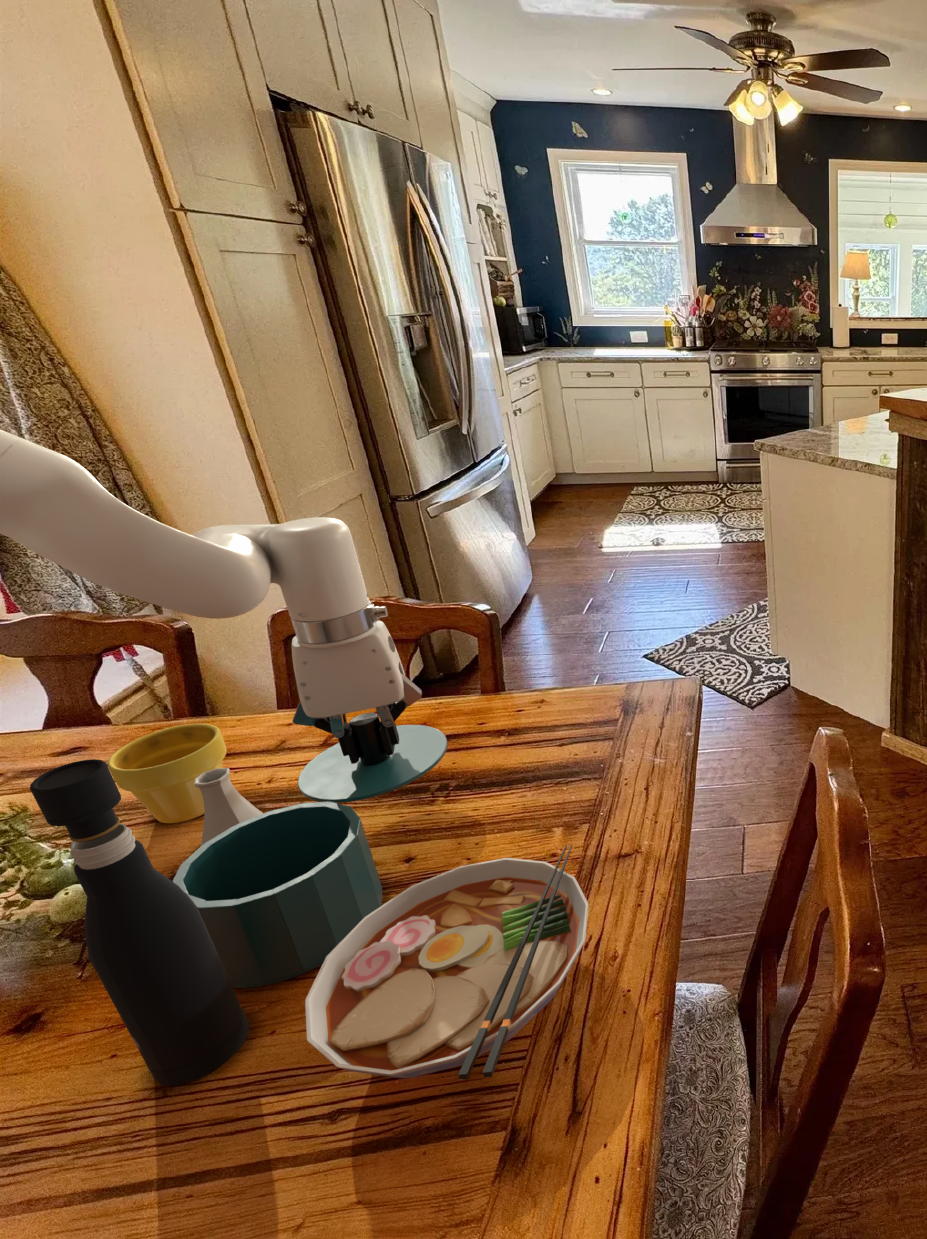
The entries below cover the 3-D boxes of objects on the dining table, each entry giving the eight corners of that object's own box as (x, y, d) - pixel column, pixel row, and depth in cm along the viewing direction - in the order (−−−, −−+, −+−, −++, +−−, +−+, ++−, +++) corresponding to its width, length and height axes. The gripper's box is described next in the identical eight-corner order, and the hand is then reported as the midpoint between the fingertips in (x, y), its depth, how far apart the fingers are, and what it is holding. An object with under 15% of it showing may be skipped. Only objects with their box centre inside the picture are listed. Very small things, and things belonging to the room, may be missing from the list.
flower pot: (223, 823, 89) (197, 759, 86) (118, 843, 86) (86, 777, 82) (255, 775, 98) (233, 716, 95) (161, 792, 95) (134, 731, 91)
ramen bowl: (415, 907, 78) (398, 849, 75) (625, 895, 80) (617, 838, 77) (250, 1162, 54) (215, 1094, 51) (552, 1135, 57) (536, 1068, 54)
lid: (288, 823, 79) (269, 772, 77) (312, 750, 92) (296, 704, 90) (447, 782, 87) (435, 734, 84) (449, 720, 99) (438, 676, 97)
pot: (187, 1013, 66) (147, 930, 62) (229, 903, 78) (198, 828, 74) (375, 950, 72) (349, 872, 69) (387, 858, 84) (366, 787, 81)
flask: (215, 829, 88) (188, 764, 85) (285, 817, 91) (261, 752, 87) (186, 870, 82) (156, 801, 78) (262, 855, 84) (236, 787, 81)
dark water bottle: (267, 1015, 66) (153, 748, 55) (209, 1086, 60) (68, 802, 49) (197, 1016, 65) (68, 748, 54) (131, 1087, 59) (-28, 802, 48)
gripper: (418, 599, 89) (448, 722, 95) (253, 624, 81) (299, 755, 88) (415, 621, 83) (447, 751, 89) (237, 650, 75) (287, 789, 82)
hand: (373, 752), depth 89 cm, fingers closed on lid, 3 cm apart
